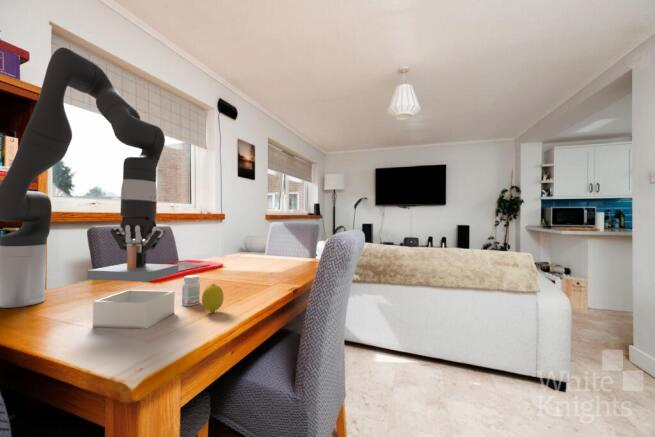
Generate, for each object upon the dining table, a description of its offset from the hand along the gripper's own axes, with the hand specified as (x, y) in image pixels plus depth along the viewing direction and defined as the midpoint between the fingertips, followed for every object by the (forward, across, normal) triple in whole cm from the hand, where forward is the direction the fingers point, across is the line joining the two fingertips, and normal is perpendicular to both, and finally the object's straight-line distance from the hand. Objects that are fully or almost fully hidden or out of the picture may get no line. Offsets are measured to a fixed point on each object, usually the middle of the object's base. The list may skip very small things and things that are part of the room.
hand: (137, 266), depth 71 cm
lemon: (+14, +17, +7) cm, 23 cm away
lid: (+2, 0, 0) cm, 2 cm away
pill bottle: (+14, +7, +14) cm, 21 cm away
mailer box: (+13, 0, 0) cm, 13 cm away
